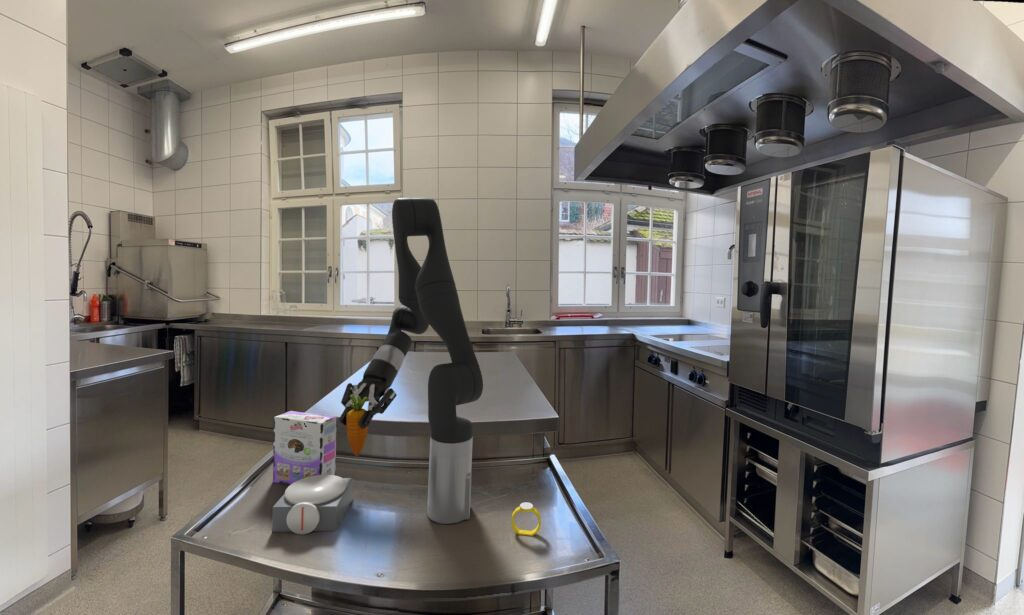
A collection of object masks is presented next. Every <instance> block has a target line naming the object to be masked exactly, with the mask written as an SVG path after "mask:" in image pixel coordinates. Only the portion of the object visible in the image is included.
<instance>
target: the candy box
mask: <svg viewBox="0 0 1024 615" xmlns="http://www.w3.org/2000/svg"><path fill="white" fill-rule="evenodd" d="M337 419H338V416H336V415H335V416H334V415H325V414H319V413H312V412H303V411H295V410H294V411H293V410H289V411H286V412H284V413H281V414H279V415H276V416H273V442H272V443H273V444H272V445H273V452H272V453H273V454H272V455H273V459H272V461H273V467H272V470H273V472H272V475H273V476H272V477H273V478H272V482H273V483H275V484H283V485H287V486H290V485H291V484H292V483H294V482H295V481H296V480H297V479H298V478H307V477H311V476H316V475H335V476H336V463H337V462H336V460H337V424H338V423H337V422H338V420H337ZM304 423H305V425H306V426H307V427H305V425H304Z"/></svg>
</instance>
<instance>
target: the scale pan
mask: <svg viewBox="0 0 1024 615" xmlns="http://www.w3.org/2000/svg"><path fill="white" fill-rule="evenodd" d="M343 478H344V477H341V476H338V475H336V474H335V475H316V476H311V477H307V478H303V479H301V480H298V481H296V482H294V483H292V484H291V485H288V487H287V488H285V491H284V494H285V499H286V501H287V502H289V503H291V504H294V505H296V504H298V503H302V502H307V503H311V504H313V505H317V504H322V503H325V502H328V501H331V500H333V499H335V498H337V497H339V496H340V495H341V494H342V493H343V492H344V491H345V489H346V482H345V480H344V479H343Z"/></svg>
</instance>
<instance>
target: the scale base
mask: <svg viewBox="0 0 1024 615" xmlns="http://www.w3.org/2000/svg"><path fill="white" fill-rule="evenodd" d="M342 478H343V479H344V480H345V482H346V489H345V491H344V492H343V493H342V494H341V495H340V496H339V497H337V498H335V499H333V500H331V501H328V502H325V503H322V504H317V505H313V504H311V503H307V502H302V503H298V504H296V505H294V504H291V503H289V502H287V501H286V499H285V493H284V494H283V495H282V496H281V497H280V498H279V499H278V500H277V502H276V503H275V504H274V505H273V506H272V518H271V520H272V522H271V526H272V527H271V532H272V533H275V532H276V533H278V532H281V533H284V532H286V533H288V532H293V533H294V534H297V535H306V534H309V533H311V532H336V531H337V530H338V528H339V526H340V524H341V522H342V520H343V518H344V516H345V515H346V512H347V511H348V509H349V507H350V505H351V504H352V502H353V500H354V478H353V477H342ZM301 479H303V478H298V479H297V480H296V481H298V480H301ZM296 481H295V482H296Z"/></svg>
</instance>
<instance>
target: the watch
mask: <svg viewBox="0 0 1024 615" xmlns="http://www.w3.org/2000/svg"><path fill="white" fill-rule="evenodd" d="M520 512H523V513H530V512H532V513H533V514H534V515H536V516H535V517H537V519H538V523H537V525H536V527H535V528H534V529H532V530H528V529H527V530H526V529H519V527H517V525H516V524H515V523H516V522H515V516H516V515H517V513H520ZM541 519H542V518H541V514H540V512H539V511H538V509H536V507H534V505H533V504H532V503H531V502H525V501H524V502H522V503H520V504H519V506H517V507H516V508H515V509H514V511H513V512H512V515H511V520H510V524H511V527H512V529H513V532H515V533H516V534H517V535H518V536H519V535H521V536H528V537H529V536H530V537H534V535H536V534H537V533H538V532H539V531H540V529H541V523H542V520H541Z"/></svg>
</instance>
